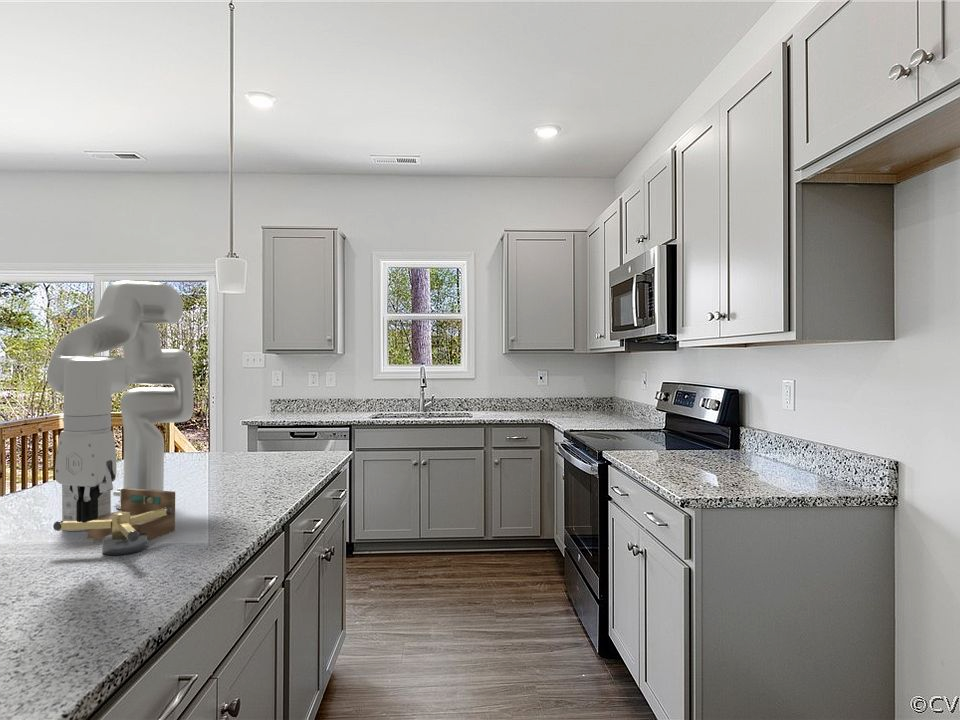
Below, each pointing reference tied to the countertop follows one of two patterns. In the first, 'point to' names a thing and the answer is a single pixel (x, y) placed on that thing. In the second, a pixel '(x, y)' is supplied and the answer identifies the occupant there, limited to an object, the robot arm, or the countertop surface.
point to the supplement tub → (70, 503)
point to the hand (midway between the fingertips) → (87, 520)
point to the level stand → (138, 504)
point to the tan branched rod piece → (118, 530)
